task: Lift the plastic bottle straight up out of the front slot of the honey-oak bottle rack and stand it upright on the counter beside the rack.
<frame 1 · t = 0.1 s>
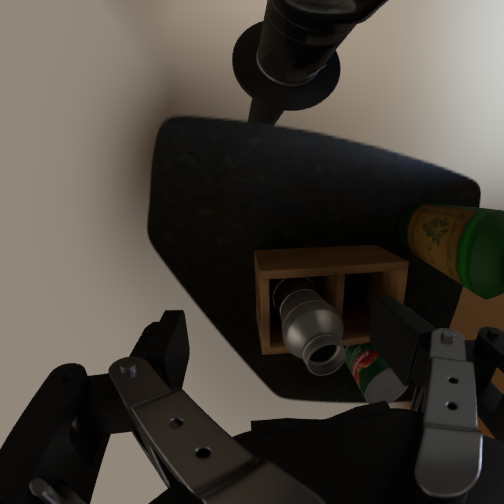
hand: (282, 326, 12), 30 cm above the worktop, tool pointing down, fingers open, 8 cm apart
bottle rack: (317, 282, 44), on the worktop
bottle: (416, 227, 43), on the worktop
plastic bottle: (288, 284, 44), resting in bottle rack
canned tomato: (363, 350, 47), on the worktop
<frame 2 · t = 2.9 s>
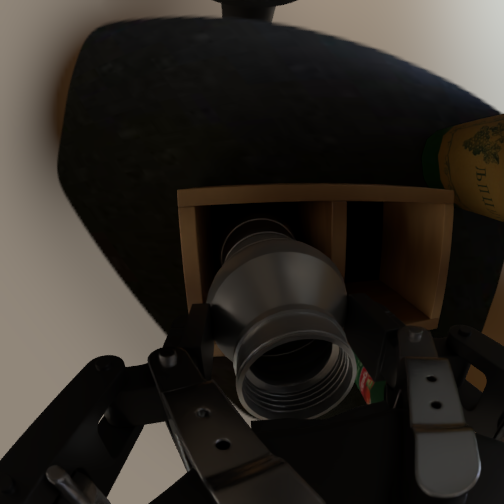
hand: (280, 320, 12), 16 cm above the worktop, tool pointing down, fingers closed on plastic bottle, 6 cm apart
bottle rack: (303, 241, 27), on the worktop
bottle: (445, 167, 27), on the worktop
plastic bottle: (255, 242, 27), resting in bottle rack, touching gripper
canned tomato: (374, 352, 31), on the worktop
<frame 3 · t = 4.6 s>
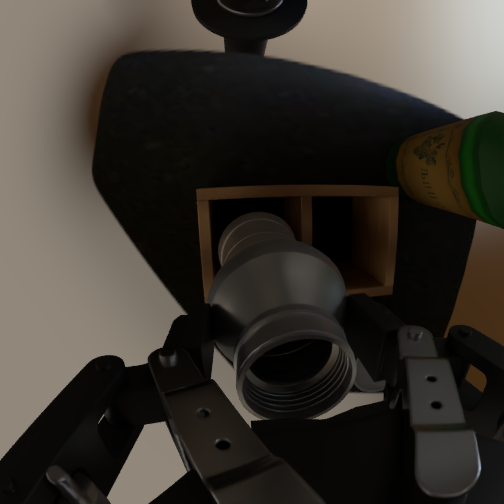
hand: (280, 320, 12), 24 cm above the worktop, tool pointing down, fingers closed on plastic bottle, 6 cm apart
bottle rack: (287, 229, 36), on the worktop
bottle: (408, 169, 35), on the worktop
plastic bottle: (255, 243, 27), point 8 cm above the worktop, touching gripper
canned tomato: (351, 323, 40), on the worktop
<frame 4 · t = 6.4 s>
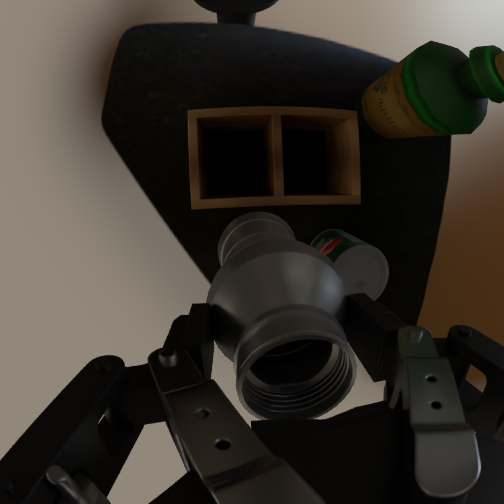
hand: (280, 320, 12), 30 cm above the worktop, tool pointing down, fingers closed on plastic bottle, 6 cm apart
bottle rack: (268, 161, 40), on the worktop
bottle: (376, 114, 39), on the worktop
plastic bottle: (255, 243, 27), point 14 cm above the worktop, touching gripper
canned tomato: (332, 254, 43), on the worktop
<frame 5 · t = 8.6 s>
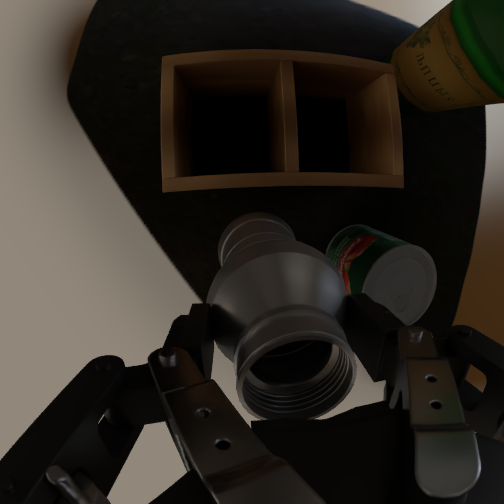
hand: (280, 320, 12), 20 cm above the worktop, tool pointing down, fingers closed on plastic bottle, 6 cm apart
bottle rack: (273, 134, 29), on the worktop
bottle: (405, 84, 28), on the worktop
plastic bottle: (255, 243, 27), point 4 cm above the worktop, touching gripper
canned tomato: (355, 257, 33), on the worktop
when the fingers open (16 cm above the worktop, at t = 10.3 s): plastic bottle stays where it is, on the worktop.
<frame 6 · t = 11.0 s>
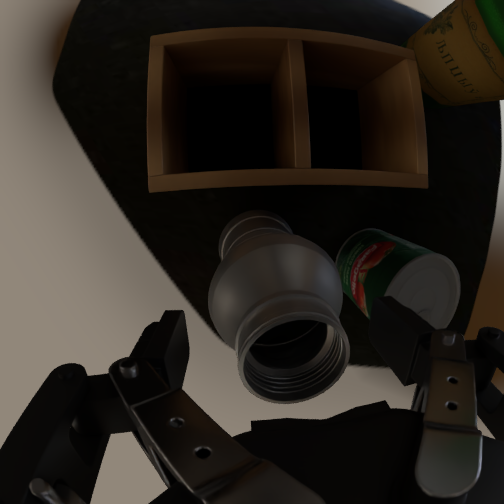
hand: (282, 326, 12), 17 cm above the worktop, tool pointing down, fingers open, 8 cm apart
bottle rack: (277, 127, 26), on the worktop
bottle: (419, 76, 25), on the worktop
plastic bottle: (255, 240, 28), on the worktop
canned tomato: (367, 264, 30), on the worktop
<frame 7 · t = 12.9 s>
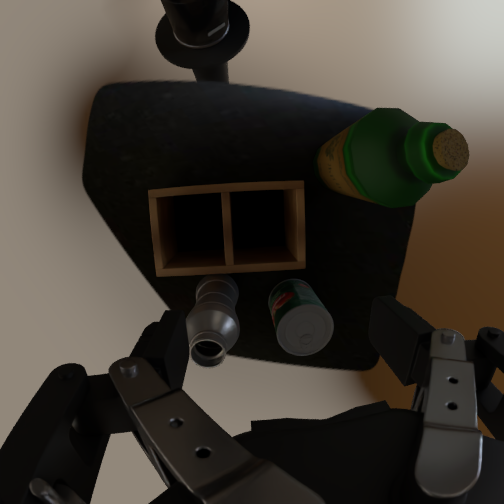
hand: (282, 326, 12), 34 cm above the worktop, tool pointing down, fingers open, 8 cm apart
bottle rack: (229, 220, 45), on the worktop
bottle: (337, 166, 44), on the worktop
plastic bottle: (218, 287, 47), on the worktop
canned tomato: (291, 300, 48), on the worktop
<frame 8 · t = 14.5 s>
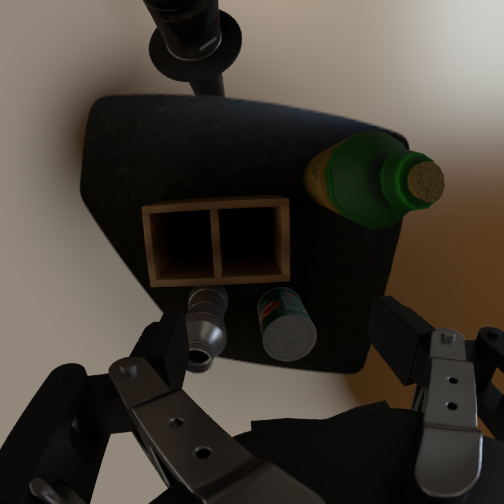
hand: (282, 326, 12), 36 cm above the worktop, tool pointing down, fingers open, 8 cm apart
bottle rack: (220, 231, 47), on the worktop
bottle: (325, 179, 46), on the worktop
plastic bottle: (209, 294, 50), on the worktop
canned tomato: (279, 307, 51), on the worktop
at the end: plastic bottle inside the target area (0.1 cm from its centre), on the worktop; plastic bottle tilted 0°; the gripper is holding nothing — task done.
